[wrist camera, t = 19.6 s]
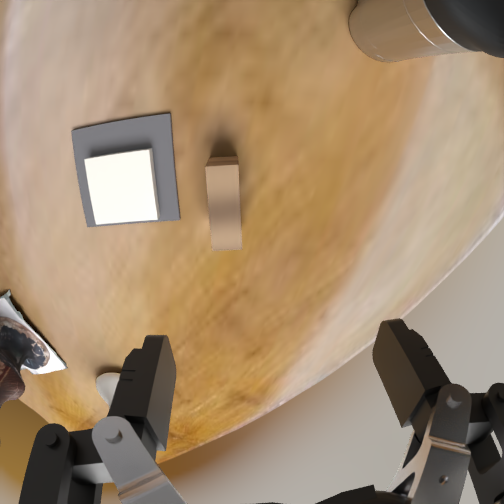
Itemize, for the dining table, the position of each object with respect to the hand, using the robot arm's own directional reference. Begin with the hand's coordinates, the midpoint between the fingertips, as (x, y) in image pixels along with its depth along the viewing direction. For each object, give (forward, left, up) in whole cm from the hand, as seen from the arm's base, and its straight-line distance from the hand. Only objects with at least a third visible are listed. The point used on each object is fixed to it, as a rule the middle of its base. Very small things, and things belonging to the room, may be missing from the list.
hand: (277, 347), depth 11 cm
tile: (-4, -16, -28) cm, 33 cm away
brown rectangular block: (+3, -3, -30) cm, 31 cm away
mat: (-1, -16, -30) cm, 34 cm away
